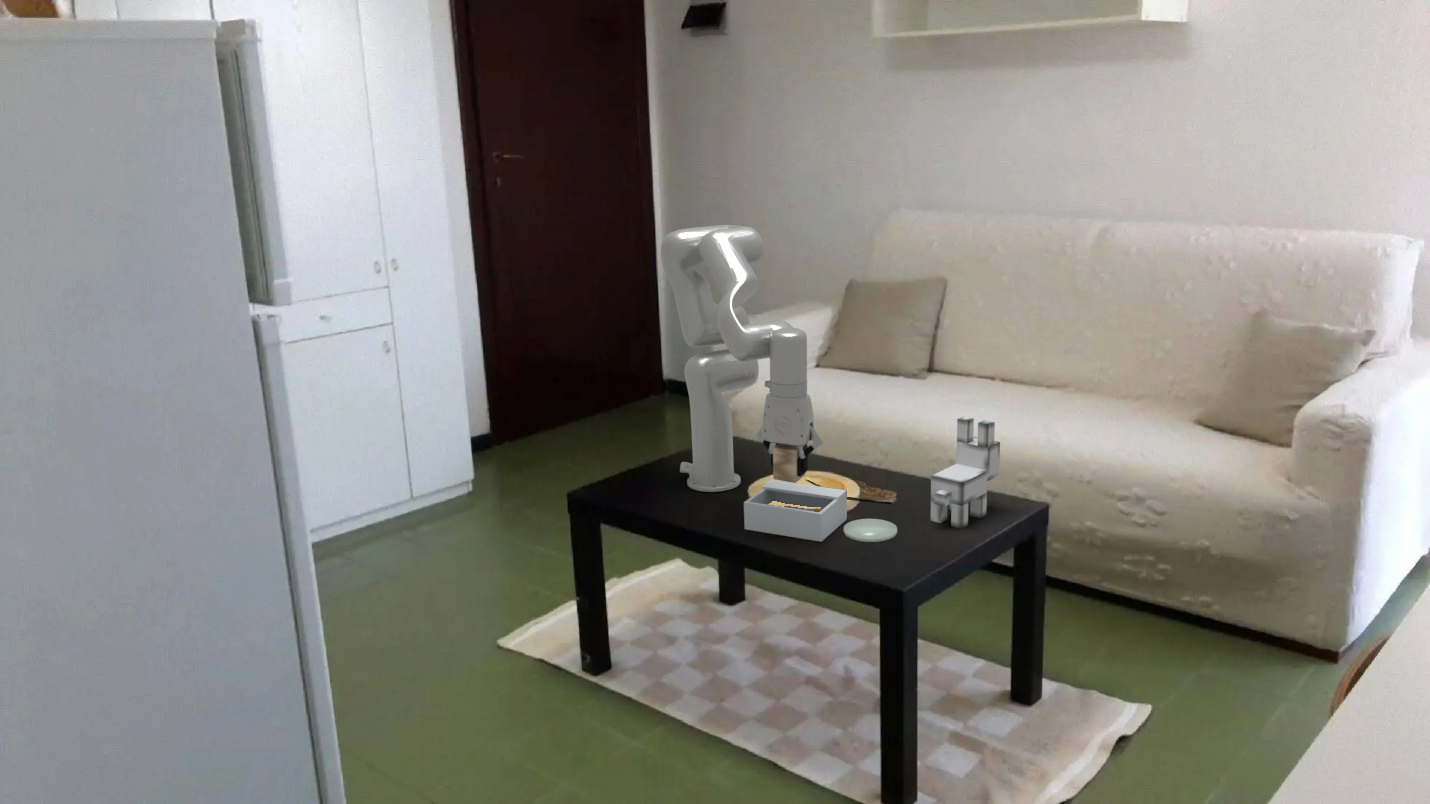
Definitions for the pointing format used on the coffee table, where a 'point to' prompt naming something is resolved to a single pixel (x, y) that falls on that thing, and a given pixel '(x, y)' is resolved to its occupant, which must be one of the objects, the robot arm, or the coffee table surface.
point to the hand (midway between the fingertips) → (789, 471)
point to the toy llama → (966, 474)
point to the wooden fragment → (875, 493)
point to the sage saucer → (870, 530)
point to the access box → (796, 510)
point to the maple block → (785, 463)
